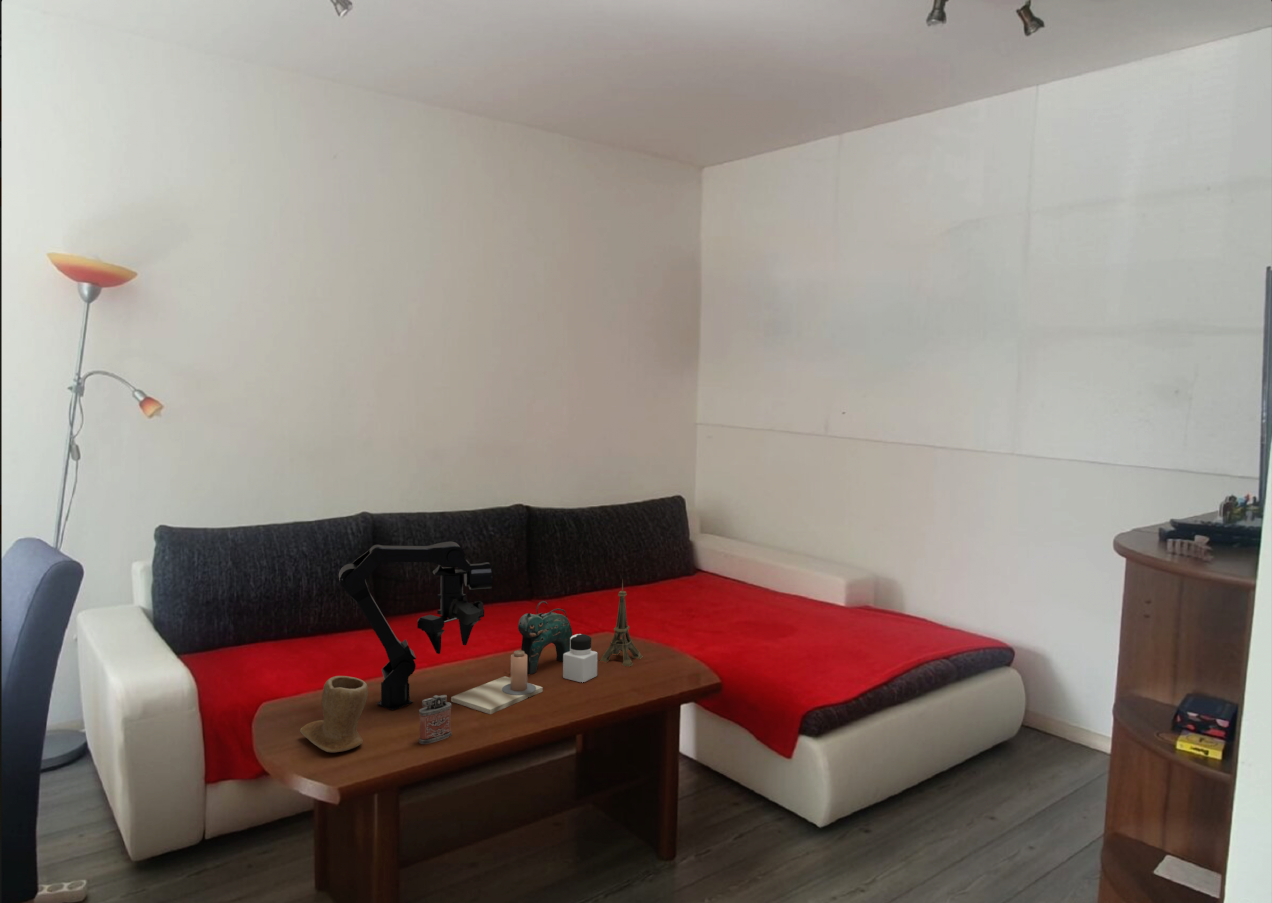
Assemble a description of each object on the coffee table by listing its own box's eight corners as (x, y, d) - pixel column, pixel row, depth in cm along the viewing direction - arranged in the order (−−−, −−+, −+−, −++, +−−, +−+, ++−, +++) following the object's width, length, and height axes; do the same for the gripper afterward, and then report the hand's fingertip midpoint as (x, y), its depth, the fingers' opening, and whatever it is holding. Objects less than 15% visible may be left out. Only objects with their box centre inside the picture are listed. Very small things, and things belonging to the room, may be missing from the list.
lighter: (446, 731, 201) (446, 690, 200) (454, 735, 199) (454, 694, 198) (416, 740, 196) (416, 698, 195) (423, 745, 193) (423, 702, 192)
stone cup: (376, 746, 192) (376, 681, 191) (325, 761, 184) (324, 694, 183) (348, 725, 203) (348, 664, 202) (298, 738, 195) (298, 675, 194)
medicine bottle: (597, 676, 241) (598, 635, 240) (582, 683, 235) (583, 641, 234) (577, 671, 245) (578, 630, 244) (562, 678, 239) (562, 636, 238)
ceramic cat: (528, 677, 239) (528, 608, 238) (512, 672, 243) (512, 603, 242) (575, 660, 255) (576, 595, 253) (560, 655, 259) (561, 591, 257)
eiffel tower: (612, 652, 263) (614, 573, 262) (643, 657, 259) (645, 576, 257) (597, 662, 254) (599, 580, 252) (630, 667, 250) (631, 584, 248)
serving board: (491, 714, 212) (491, 709, 212) (451, 701, 220) (451, 696, 220) (544, 691, 228) (544, 686, 228) (504, 680, 236) (504, 675, 236)
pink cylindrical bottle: (523, 691, 224) (524, 655, 223) (508, 690, 225) (508, 653, 224) (529, 686, 228) (529, 650, 227) (513, 684, 229) (514, 648, 228)
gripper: (446, 602, 208) (446, 664, 209) (499, 588, 223) (499, 646, 225) (415, 595, 214) (415, 656, 216) (469, 582, 230) (469, 638, 231)
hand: (451, 649), depth 222 cm, fingers open, 9 cm apart
